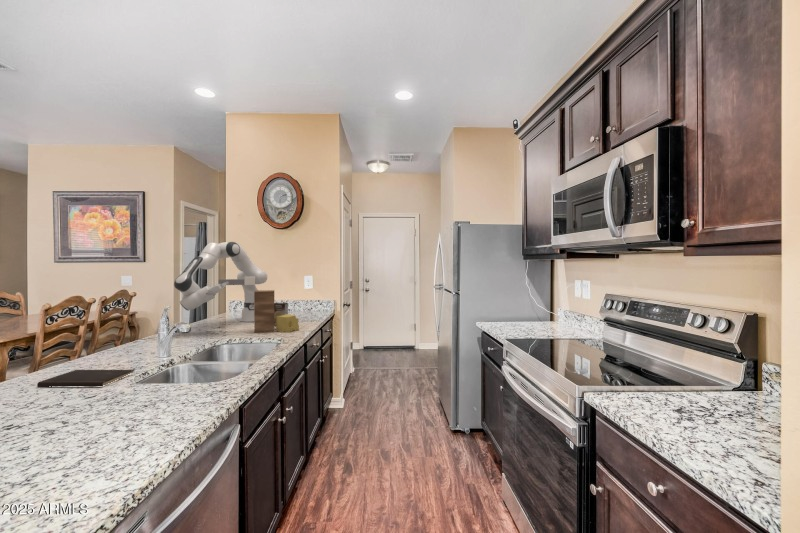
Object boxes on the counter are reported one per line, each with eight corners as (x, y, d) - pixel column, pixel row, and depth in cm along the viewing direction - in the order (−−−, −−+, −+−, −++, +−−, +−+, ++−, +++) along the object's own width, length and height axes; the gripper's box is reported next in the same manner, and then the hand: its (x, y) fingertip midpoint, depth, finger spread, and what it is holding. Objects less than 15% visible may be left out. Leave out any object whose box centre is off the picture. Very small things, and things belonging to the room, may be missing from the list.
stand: (254, 329, 250) (254, 290, 249) (274, 328, 254) (274, 290, 253) (253, 332, 238) (253, 291, 238) (274, 331, 242) (274, 291, 242)
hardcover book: (76, 375, 149) (76, 369, 149) (134, 375, 149) (134, 369, 149) (37, 388, 133) (36, 382, 133) (102, 389, 133) (102, 382, 133)
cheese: (299, 330, 249) (299, 314, 249) (287, 332, 240) (287, 316, 240) (286, 328, 254) (286, 314, 254) (275, 331, 244) (275, 316, 244)
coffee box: (272, 326, 263) (272, 303, 263) (276, 324, 270) (275, 302, 270) (284, 326, 263) (284, 303, 262) (288, 325, 269) (288, 302, 269)
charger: (219, 284, 240) (219, 276, 240) (255, 284, 247) (255, 276, 247) (218, 285, 234) (218, 277, 234) (254, 284, 241) (254, 277, 241)
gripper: (202, 290, 225) (224, 278, 229) (207, 287, 244) (228, 276, 248) (208, 299, 226) (230, 287, 230) (213, 296, 245) (233, 285, 249)
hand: (229, 281), depth 239 cm, fingers closed on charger, 3 cm apart
